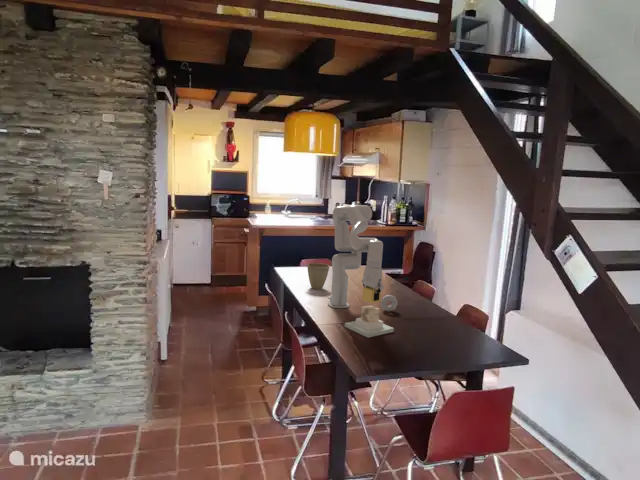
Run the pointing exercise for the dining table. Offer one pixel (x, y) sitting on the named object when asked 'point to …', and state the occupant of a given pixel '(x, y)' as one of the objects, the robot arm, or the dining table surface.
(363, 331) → the base
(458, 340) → the dining table surface
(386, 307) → the donut
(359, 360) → the dining table surface
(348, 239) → the robot arm
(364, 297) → the mustard block
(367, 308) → the maple block
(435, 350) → the dining table surface
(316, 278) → the plant pot
